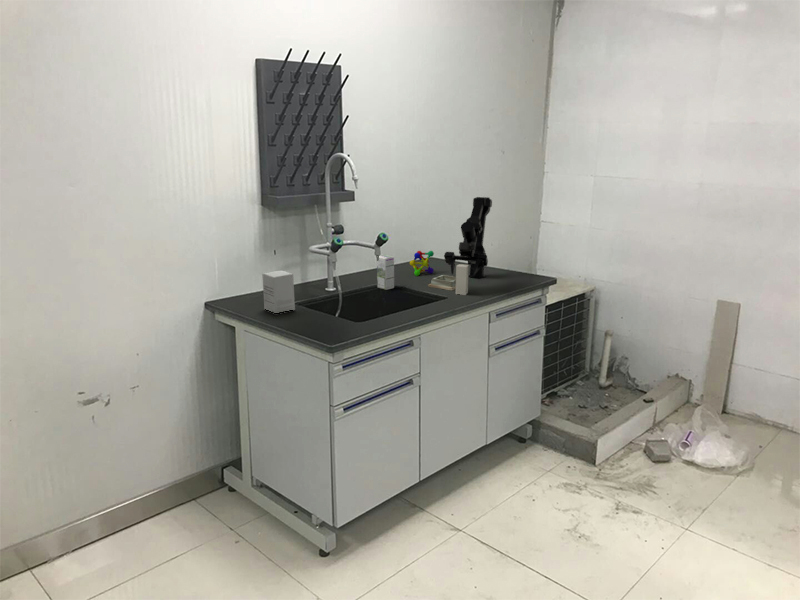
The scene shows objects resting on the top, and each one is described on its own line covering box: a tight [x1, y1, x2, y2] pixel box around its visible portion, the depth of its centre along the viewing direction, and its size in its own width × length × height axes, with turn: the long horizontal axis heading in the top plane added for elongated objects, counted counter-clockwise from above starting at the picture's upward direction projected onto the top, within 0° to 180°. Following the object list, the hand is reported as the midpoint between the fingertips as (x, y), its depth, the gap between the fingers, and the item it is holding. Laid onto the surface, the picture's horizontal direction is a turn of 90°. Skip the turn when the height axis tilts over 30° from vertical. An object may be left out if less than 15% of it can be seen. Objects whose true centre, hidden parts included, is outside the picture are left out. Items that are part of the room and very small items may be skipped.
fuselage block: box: [454, 263, 470, 296], centre depth 274 cm, size 4×4×12 cm
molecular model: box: [409, 250, 435, 277], centre depth 310 cm, size 12×7×12 cm, turn 125°
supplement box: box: [261, 269, 296, 314], centre depth 247 cm, size 9×9×15 cm
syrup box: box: [376, 254, 395, 291], centre depth 282 cm, size 6×6×14 cm
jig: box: [427, 274, 456, 291], centre depth 288 cm, size 12×12×4 cm
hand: (462, 274), depth 273 cm, fingers open, 9 cm apart
